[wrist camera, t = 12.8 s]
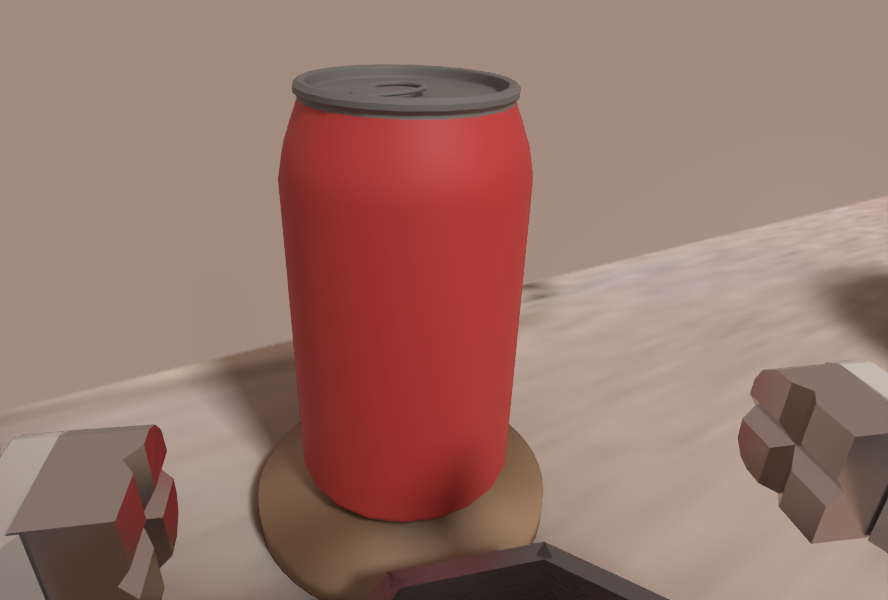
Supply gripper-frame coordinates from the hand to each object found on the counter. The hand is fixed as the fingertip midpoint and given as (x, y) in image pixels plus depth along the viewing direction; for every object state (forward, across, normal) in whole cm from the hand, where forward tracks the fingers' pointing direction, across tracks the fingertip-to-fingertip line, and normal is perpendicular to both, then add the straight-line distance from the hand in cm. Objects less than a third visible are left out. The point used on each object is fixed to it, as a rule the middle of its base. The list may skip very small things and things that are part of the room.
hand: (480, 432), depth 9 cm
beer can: (+9, 0, +9) cm, 13 cm away
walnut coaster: (+9, 0, +10) cm, 13 cm away
